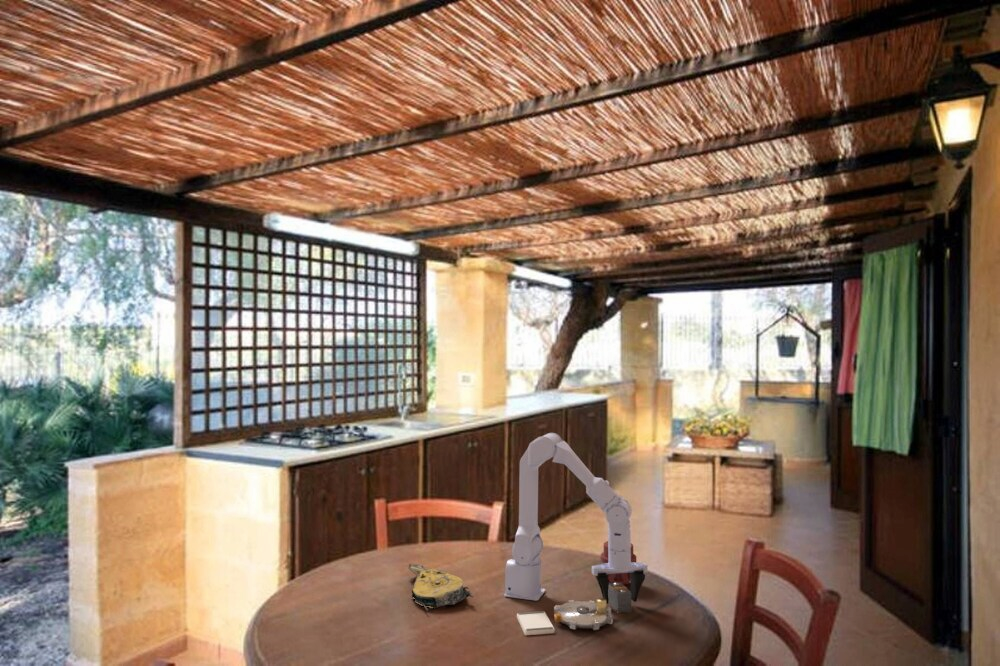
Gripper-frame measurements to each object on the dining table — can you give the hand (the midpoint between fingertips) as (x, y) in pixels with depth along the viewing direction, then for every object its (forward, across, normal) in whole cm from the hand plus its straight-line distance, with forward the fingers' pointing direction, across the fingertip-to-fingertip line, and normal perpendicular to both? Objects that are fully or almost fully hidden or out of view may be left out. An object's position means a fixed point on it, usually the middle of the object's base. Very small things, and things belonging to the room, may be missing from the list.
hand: (619, 601), depth 162 cm
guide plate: (+1, +24, +7) cm, 25 cm away
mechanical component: (+2, -5, -15) cm, 16 cm away
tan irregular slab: (+2, +47, -19) cm, 51 cm away
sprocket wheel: (+1, +12, +7) cm, 14 cm away
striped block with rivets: (+2, 0, 0) cm, 2 cm away
